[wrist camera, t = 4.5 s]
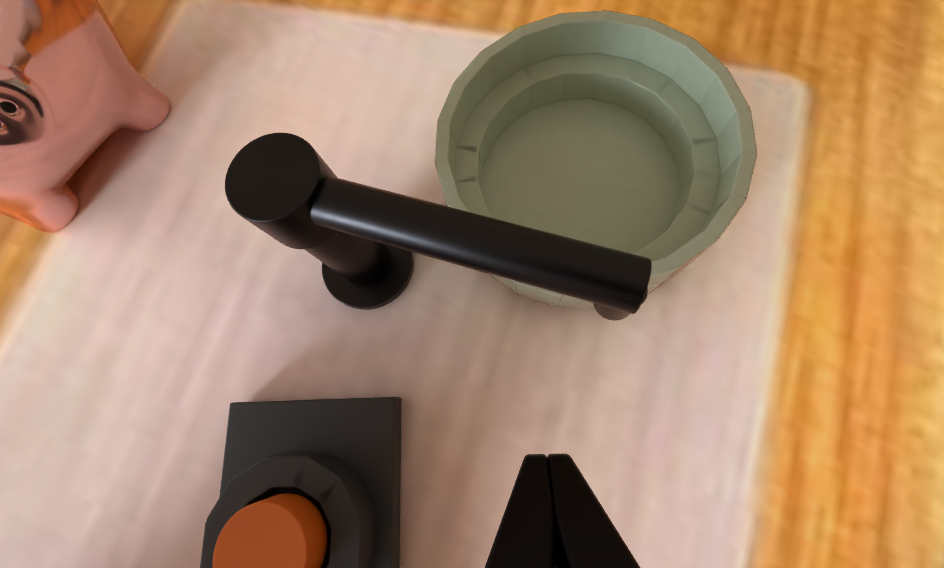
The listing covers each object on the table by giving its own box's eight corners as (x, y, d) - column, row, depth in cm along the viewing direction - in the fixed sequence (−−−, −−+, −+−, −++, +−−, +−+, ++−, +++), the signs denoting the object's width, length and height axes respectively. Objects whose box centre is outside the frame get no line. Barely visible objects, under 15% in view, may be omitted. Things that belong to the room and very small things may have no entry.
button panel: (398, 672, 18) (374, 723, 15) (217, 667, 19) (162, 713, 16) (401, 397, 21) (382, 396, 18) (244, 402, 22) (202, 402, 19)
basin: (769, 209, 21) (831, 160, 17) (549, 363, 21) (556, 353, 16) (598, 40, 25) (613, -36, 21) (406, 165, 24) (381, 114, 20)
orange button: (325, 594, 17) (303, 616, 15) (236, 593, 17) (205, 614, 15) (330, 492, 18) (310, 501, 16) (246, 493, 18) (218, 502, 16)
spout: (267, 244, 17) (207, 207, 14) (299, 174, 18) (249, 123, 15) (622, 351, 15) (651, 335, 11) (644, 263, 15) (676, 225, 12)
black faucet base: (431, 275, 23) (396, 225, 16) (352, 327, 22) (286, 297, 16) (385, 206, 24) (336, 136, 18) (310, 255, 24) (234, 202, 17)
